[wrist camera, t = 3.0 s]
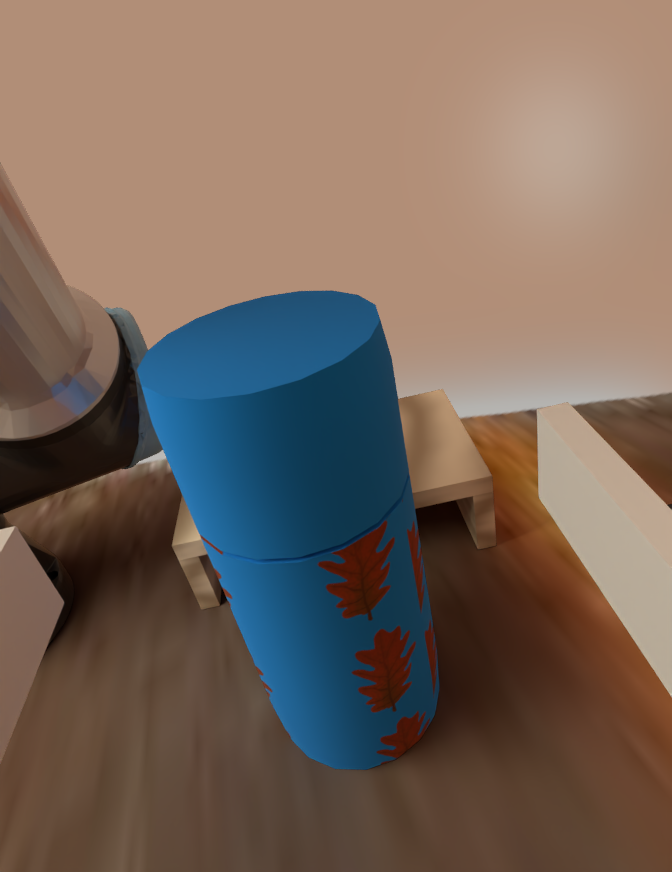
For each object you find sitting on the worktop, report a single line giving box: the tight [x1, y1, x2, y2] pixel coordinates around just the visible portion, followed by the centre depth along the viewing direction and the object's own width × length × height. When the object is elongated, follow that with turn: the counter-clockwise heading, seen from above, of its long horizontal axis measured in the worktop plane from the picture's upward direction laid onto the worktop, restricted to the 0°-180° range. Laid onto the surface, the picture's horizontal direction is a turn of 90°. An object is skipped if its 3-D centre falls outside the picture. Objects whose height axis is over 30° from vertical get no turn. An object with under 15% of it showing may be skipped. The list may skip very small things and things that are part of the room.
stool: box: [172, 389, 497, 610], centre depth 50 cm, size 24×14×7 cm, turn 96°
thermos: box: [137, 291, 439, 770], centre depth 31 cm, size 11×11×25 cm
